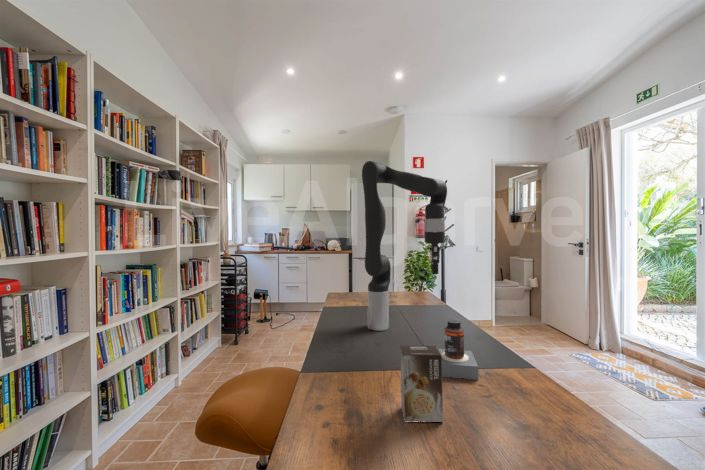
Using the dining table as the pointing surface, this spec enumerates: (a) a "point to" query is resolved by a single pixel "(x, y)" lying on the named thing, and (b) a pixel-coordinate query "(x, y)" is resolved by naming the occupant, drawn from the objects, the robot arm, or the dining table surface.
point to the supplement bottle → (454, 340)
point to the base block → (459, 366)
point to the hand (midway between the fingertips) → (434, 272)
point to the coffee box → (421, 383)
